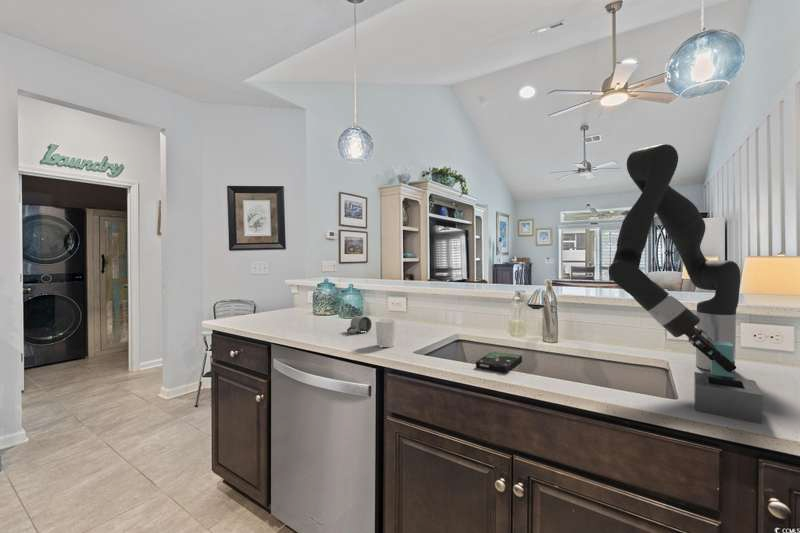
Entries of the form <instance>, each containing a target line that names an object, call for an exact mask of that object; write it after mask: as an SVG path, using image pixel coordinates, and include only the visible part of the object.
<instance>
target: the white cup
mask: <svg viewBox="0 0 800 533" xmlns="http://www.w3.org/2000/svg"><path fill="white" fill-rule="evenodd" d="M396 322H397V321H396V320H395V319H392V318H380V319H376V320H375V336H376V346H377V345H378V346H382V347H389V348H391V347H390V346H393V347H394V346H395V339H396ZM378 346H377V347H378ZM382 347H381V348H382Z"/></svg>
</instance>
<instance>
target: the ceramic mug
mask: <svg viewBox="0 0 800 533" xmlns="http://www.w3.org/2000/svg"><path fill="white" fill-rule="evenodd" d="M372 326H373V324H372V319H371V318H370V317H369V316H365V315H356V316H354V317H353V318H352V319H351V320H350V326H349V327H348V328H347V329H346V332H347V334H348V333H353V334H355V333H361V334H364V333H363V332H361V331H366V332H367V333H369V332H370V331H371V329H372Z"/></svg>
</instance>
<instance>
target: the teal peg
mask: <svg viewBox="0 0 800 533" xmlns="http://www.w3.org/2000/svg"><path fill="white" fill-rule="evenodd" d="M712 342H713V343H714V344H715V345H716V349H717V350H719V351H720V352H722V353H723V355H724V356H725V357H726V358H727V359H728V360H729V361H731V362H732V363H733V344H732V343H730V342H720V341H712ZM713 353H715V352H714V351H713V350H711V354H713ZM710 374H713V375H719V376H726V377H733V378H734V376H733V374H734V372H733V371H732V372H727V371H726V370H725V369H724V368H723V367H722V366H720V365H719V364H718V363H717V362H716V361H714V360H713V361H712V360H711V371H710Z"/></svg>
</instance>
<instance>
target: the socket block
mask: <svg viewBox="0 0 800 533" xmlns="http://www.w3.org/2000/svg"><path fill="white" fill-rule="evenodd" d="M693 376H694V378H693V379H694V380H693V382H694V384H693V399H694V401H693V402H694V411H696V412H701V413H707V414H712V415H717V416H722V417H726V418H732V419H737V420H743V421H747V422H753V423H758V424H763V405H764V404H763V402H764V401H763V398H764V396H763V393H762V390H761V388H760V387H759V385H758V384H757V382H756V380H753V379H747V378H740V377H739V378H738V377H734V376H733V377H726V376H719V375H713V374H711V373H705V372H699V371H694V375H693Z"/></svg>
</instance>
